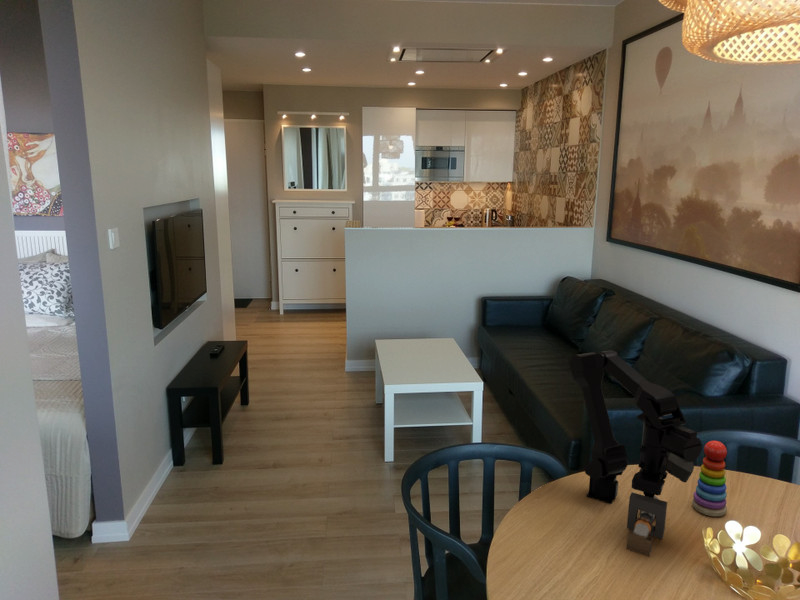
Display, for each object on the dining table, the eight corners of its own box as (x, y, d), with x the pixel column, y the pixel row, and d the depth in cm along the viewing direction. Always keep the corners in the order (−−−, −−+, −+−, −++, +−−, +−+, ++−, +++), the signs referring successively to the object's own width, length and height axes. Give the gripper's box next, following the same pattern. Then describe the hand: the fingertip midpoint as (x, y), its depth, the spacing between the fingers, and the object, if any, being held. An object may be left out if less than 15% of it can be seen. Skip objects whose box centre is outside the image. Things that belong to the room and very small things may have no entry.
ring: (628, 523, 140) (631, 492, 138) (664, 533, 136) (667, 501, 134) (626, 528, 138) (629, 496, 136) (662, 539, 134) (665, 506, 132)
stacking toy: (731, 519, 142) (739, 450, 138) (697, 517, 143) (704, 449, 139) (719, 501, 150) (726, 436, 146) (687, 499, 151) (693, 434, 147)
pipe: (641, 510, 146) (643, 490, 145) (662, 516, 144) (664, 496, 142) (626, 549, 131) (628, 527, 130) (649, 556, 129) (651, 534, 127)
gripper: (688, 468, 122) (681, 532, 126) (697, 435, 138) (690, 493, 141) (633, 455, 128) (628, 517, 132) (648, 425, 144) (643, 481, 147)
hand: (649, 501), depth 138 cm, fingers closed
